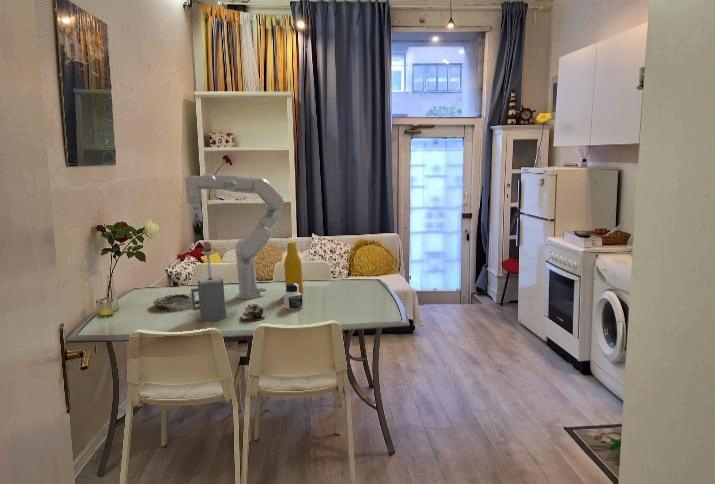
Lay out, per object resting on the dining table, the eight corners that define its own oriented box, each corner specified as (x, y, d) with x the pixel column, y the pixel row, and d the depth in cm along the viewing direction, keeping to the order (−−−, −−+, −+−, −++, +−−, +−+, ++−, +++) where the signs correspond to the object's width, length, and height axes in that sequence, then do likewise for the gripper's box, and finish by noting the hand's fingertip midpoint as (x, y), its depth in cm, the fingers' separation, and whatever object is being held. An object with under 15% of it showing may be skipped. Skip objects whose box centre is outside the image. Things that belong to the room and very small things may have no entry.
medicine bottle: (289, 310, 270) (288, 286, 268) (284, 307, 276) (282, 283, 274) (303, 308, 273) (301, 284, 271) (297, 304, 280) (296, 281, 278)
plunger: (219, 287, 266) (215, 240, 262) (220, 291, 258) (216, 242, 254) (201, 289, 264) (197, 241, 260) (202, 293, 256) (197, 244, 252)
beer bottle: (298, 297, 293) (295, 244, 288) (283, 296, 296) (279, 243, 291) (306, 293, 302) (303, 241, 297) (290, 292, 305) (287, 240, 300)
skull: (244, 321, 252) (238, 302, 256) (241, 331, 260) (236, 312, 264) (269, 316, 257) (263, 297, 261) (266, 326, 265) (260, 307, 269)
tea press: (225, 313, 270) (221, 275, 267) (226, 319, 259) (223, 280, 256) (193, 316, 266) (190, 278, 263) (193, 323, 255) (190, 283, 252)
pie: (167, 317, 268) (166, 307, 267) (136, 310, 285) (135, 300, 284) (213, 303, 290) (212, 294, 289) (182, 297, 306) (181, 288, 306)
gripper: (203, 200, 276) (206, 234, 279) (200, 198, 292) (203, 230, 295) (187, 201, 273) (191, 235, 276) (186, 199, 289) (189, 231, 292)
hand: (197, 232), depth 285 cm, fingers open, 9 cm apart
